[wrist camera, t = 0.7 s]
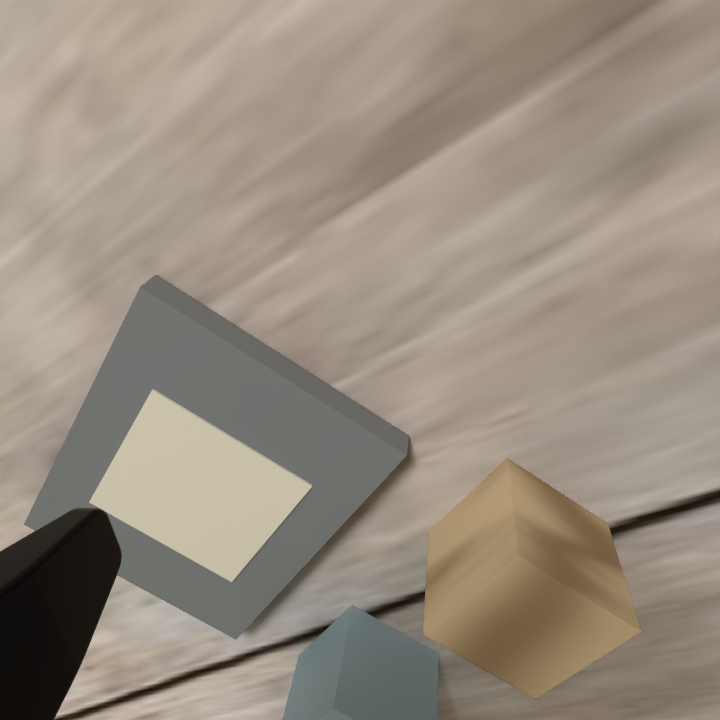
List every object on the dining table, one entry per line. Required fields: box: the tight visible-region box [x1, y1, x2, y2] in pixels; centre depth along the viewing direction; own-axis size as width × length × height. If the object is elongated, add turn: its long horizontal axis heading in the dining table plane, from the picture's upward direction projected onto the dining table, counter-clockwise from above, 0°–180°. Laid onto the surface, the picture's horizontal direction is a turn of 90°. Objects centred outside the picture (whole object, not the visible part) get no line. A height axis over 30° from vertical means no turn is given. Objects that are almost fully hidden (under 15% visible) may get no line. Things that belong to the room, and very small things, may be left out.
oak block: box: [423, 458, 641, 699], centre depth 22 cm, size 5×5×5 cm
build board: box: [24, 275, 409, 639], centre depth 25 cm, size 11×14×1 cm
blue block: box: [283, 605, 439, 720], centre depth 27 cm, size 5×5×5 cm
